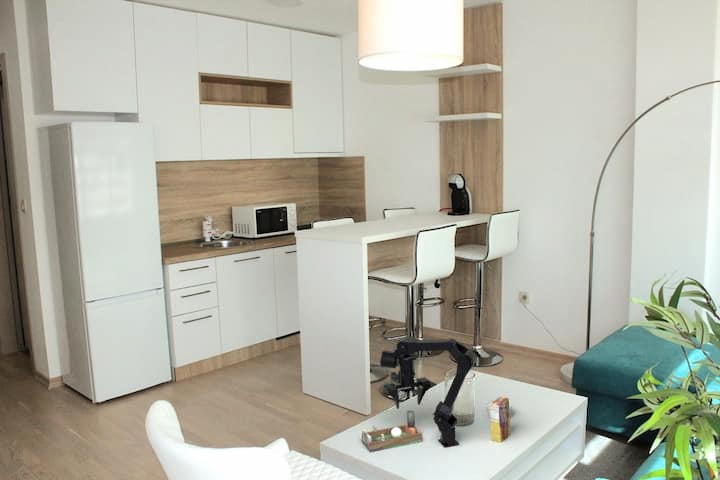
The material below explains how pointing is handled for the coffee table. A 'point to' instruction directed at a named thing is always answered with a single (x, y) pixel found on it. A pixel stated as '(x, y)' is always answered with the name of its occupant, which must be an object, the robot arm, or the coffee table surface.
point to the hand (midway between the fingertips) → (408, 406)
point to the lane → (388, 438)
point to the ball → (396, 432)
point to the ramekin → (489, 408)
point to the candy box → (500, 419)
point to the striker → (410, 423)
